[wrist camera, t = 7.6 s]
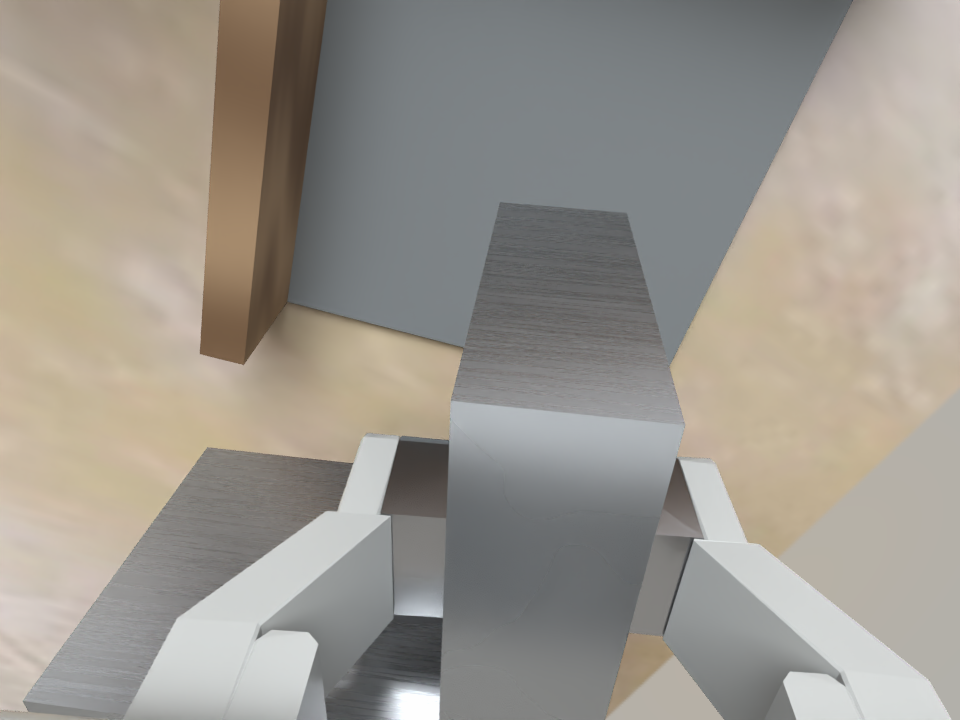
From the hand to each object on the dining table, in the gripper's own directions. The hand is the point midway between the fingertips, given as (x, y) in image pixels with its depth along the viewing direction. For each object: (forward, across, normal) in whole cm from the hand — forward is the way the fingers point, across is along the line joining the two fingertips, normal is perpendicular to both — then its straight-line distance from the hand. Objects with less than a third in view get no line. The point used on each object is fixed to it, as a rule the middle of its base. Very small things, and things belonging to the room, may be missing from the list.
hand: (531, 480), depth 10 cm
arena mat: (+12, 0, -3) cm, 12 cm away
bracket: (+2, +2, 0) cm, 3 cm away
